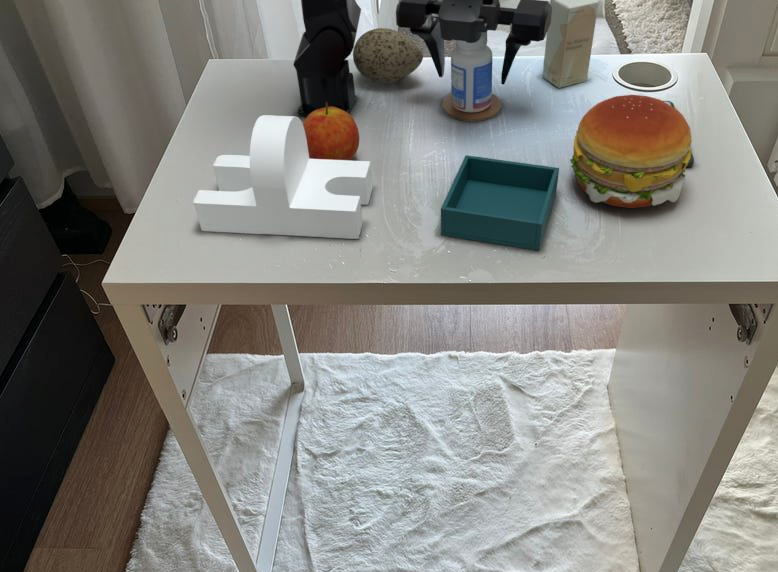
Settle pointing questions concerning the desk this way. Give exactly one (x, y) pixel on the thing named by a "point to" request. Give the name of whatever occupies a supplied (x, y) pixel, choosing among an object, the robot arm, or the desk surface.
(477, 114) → the coaster
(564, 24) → the box
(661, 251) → the desk surface
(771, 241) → the desk surface
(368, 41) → the decorative egg
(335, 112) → the fruit
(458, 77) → the pill bottle
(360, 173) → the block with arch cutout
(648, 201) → the burger
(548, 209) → the bin
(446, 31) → the robot arm
